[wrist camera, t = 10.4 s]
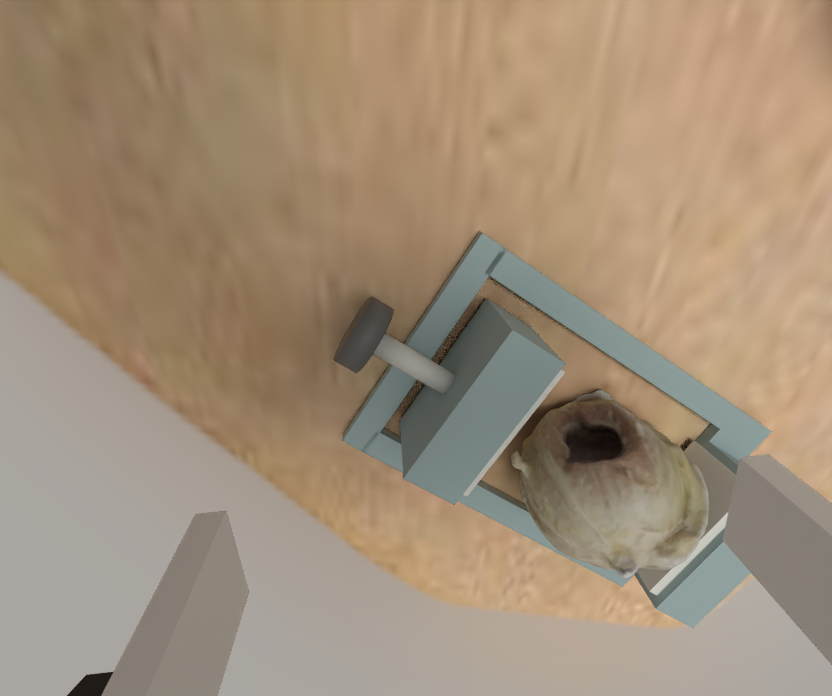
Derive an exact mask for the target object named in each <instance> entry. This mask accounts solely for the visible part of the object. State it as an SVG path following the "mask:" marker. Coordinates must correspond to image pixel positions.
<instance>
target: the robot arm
mask: <svg viewBox="0 0 832 696" xmlns="http://www.w3.org/2000/svg"><path fill="white" fill-rule="evenodd" d="M723 541H724V542H725V544H726V545H727V546H728V547H729V548H730V549H731V550H732V552H733V553H734V554H735V555H736V556H737V557H738V558H739V560H740V561H741V562H742V563H743V564H744V565H745V566H746V568H747V569H748V570H749V571H750V572H751V573H752V574H753V576H754V577H755V578H756V579H757V580H758V581H759V582H760V583H761V585H762V586H763V587H764V588H765V589H766V590H767V591H768V593H769V594H770V595H771V596H772V597H773V598H774V599H775V601H776V602H777V603H778V604H779V605H780V606H781V607H782V609H783V610H784V611H785V612H786V613H787V614H788V615H789V616H790V618H791V619H792V620H793V621H794V622H795V623H796V625H797V626H798V627H799V628H800V629H801V630H802V631H803V632H804V634H805V635H806V636H807V637H808V638H809V639H810V641H811V642H812V643H813V644H814V645H815V646H816V647H817V649H818V650H819V651H820V652H821V653H822V654H823V655H824V657H825V658H826V659H827V660H828V661H829V662H830V663H831V665H832V503H830V502H829V501H828V500H827V499H825V498H824V497H823V496H822V495H820V494H819V493H818V492H816V491H815V490H814V489H813V488H811V487H810V486H809V485H807V484H806V483H805V482H804V481H802V480H801V479H800V478H798V477H797V476H796V475H795V474H793V473H792V472H791V471H790V470H788V469H787V468H786V467H784V466H783V465H782V464H781V463H779V462H778V461H777V460H775V459H774V458H773V457H772V456H770V455H769V454H767V455H757V456H748V457H740V459H739V464H738V469H737V473H736V478H735V483H734V488H733V492H732V497H731V502H730V507H729V512H728V516H727V521H726V526H725V531H724V535H723ZM248 594H249V590H248V586H247V583H246V579H245V575H244V572H243V569H242V565H241V561H240V558H239V554H238V550H237V547H236V543H235V540H234V536H233V533H232V529H231V526H230V522H229V519H228V515H227V511H219V512H209V513H200V514H195V516H194V517H193V520H192V521H191V523H190V525H189V527H188V529H187V531H186V533H185V535H184V537H183V539H182V541H181V543H180V545H179V546H178V548H177V550H176V552H175V554H174V556H173V558H172V560H171V562H170V564H169V566H168V568H167V570H166V572H165V574H164V576H163V578H162V579H161V581H160V583H159V585H158V587H157V589H156V591H155V593H154V595H153V597H152V599H151V601H150V602H149V604H148V606H147V608H146V611H145V612H144V614H143V616H142V618H141V620H140V622H139V624H138V626H137V628H136V630H135V632H134V633H133V635H132V637H131V639H130V641H129V643H128V645H127V647H126V649H125V651H124V653H123V655H122V657H121V659H120V660H119V662H118V664H117V666H116V669H115V670H114V672H108V673H100V674H90V675H86V676H85V677H84V678H83V679H82V680H81V681H80V682H79V684H77V686H76V687H75V688H74V689H73V690H72V691H71V692H70V693H69V694H68V695H67V696H218V693H219V689H220V686H221V683H222V680H223V676H224V673H225V669H226V666H227V663H228V660H229V656H230V653H231V650H232V647H233V643H234V640H235V636H236V633H237V630H238V627H239V623H240V620H241V617H242V614H243V610H244V607H245V604H246V601H247V597H248Z"/></svg>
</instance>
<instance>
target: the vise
mask: <svg viewBox="0 0 832 696" xmlns="http://www.w3.org/2000/svg"><path fill="white" fill-rule="evenodd" d="M489 276H491V277H492V278H494V279H495V280H497V281H498V282H500V283H501V284H503V285H504V286H506V287H507V288H509V289H510V290H512V291H513V292H515V293H516V294H518V295H519V296H521V297H522V298H524V299H525V300H527V301H528V302H530V303H531V304H533V305H534V306H536V307H537V308H539V309H540V310H542V311H543V312H545V313H546V314H548V315H549V316H551V317H552V318H554V319H555V320H557V321H558V322H560V323H561V324H563V325H564V326H566V327H567V328H569V329H570V330H572V331H573V332H575V333H576V334H578V335H579V336H581V337H582V338H584V339H585V340H587V341H588V342H590V343H591V344H593V345H594V346H596V347H597V348H599V349H600V350H602V351H603V352H605V353H606V354H608V355H609V356H611V357H613V358H614V359H616V360H617V361H619V362H620V363H622V364H623V365H625V366H626V367H628V368H629V369H631V370H632V371H634V372H635V373H637V374H638V375H640V376H641V377H643V378H644V379H646V380H647V381H649V382H650V383H652V384H653V385H655V386H656V387H658V388H659V389H661V390H662V391H664V392H665V393H667V394H668V395H670V396H671V397H673V398H674V399H676V400H677V401H679V402H680V403H682V404H683V405H685V406H686V407H688V408H689V409H691V410H692V411H694V412H695V413H697V414H698V415H700V416H701V417H703V418H704V419H706V420H707V421H709V422H710V423H711V425H710V426H709V427H708V428H707V429H706V430H705V431H704V432H703V433H702V434H701V435H700V437H699V438H698V439H697V440H696V441H693V442H692V443H691V444H690V445H689V446H688V447H687V448H686V449H685V451H684V454H685V456H686V458H687V459H688V461H690V462H692V463H694V464H695V465H696V466H697V467H698V468H699V470H700V472H701V473H702V476H703V479H704V481H705V484H706V487H707V490H708V500H709V511H708V523H707V526H706V528H705V533H704V534H703V536H702V537H701V539H700V541H699V544H698V546H697V548H696V550H695V551H694V552H693V553H692V555H691V556H690V557H689V558H688V559H686V560H685V561H684V562H683V563H681V564H679V565H677V566H676V567H674V568H671V569H668V570H652V569H646V568H639V569H638V570H637V571H636V572H635V573H634V575H635V576H636V578H637V579H638V581H639V583H640V584H641V586H642V587H643V589H644V591H645V592H646V594H647V595H648V597H649V599H650V600H651V602H652V603H653V605H654V607H655V608H656V609H657V610H659V611H661V612H663V613H665V614H667V615H669V616H671V617H673V618H675V619H677V620H679V621H681V622H682V623H684V624H686V625H688V626H690V627H692V628H694V626H696V625H697V624H698V623H699V622H700V621H701V620H702V619H703V618H704V617H705V616H706V615H707V614H708V613H709V612H710V611H712V610H713V609H714V608H715V607H716V606H717V605H718V604H719V603H720V602H721V601H722V600H723V599H724V598H725V597H726V596H727V595H728V594H729V593H730V592H732V591H733V590H734V589H735V588H736V587H737V586H738V585H739V584H740V583H741V582H742V581H743V580H744V579H745V578H746V577H747V576H748V575H749V574H750V573H751V572H750V571H749V570H748V569H747V568H746V566H745V565H744V564H743V563H742V562H741V561H740V560H739V558H738V557H737V556H736V555H735V554H734V553H733V552H732V550H731V549H730V548H729V547H728V546H727V545H726V544H725V542H724V541H723V535H724V531H725V526H726V521H727V516H728V512H729V507H730V502H731V497H732V492H733V488H734V483H735V478H736V473H737V469H738V464H739V459H740V457H748V456H749V455H750V454H751V453H752V452H753V451H754V450H755V449H756V448H757V447H758V446H759V445H760V444H761V443H762V441H763V440H764V439H765V438H766V437H767V436H768V435H769V434H770V433H771V432H772V431H770V430H769V429H767V428H766V427H764V426H763V425H761V424H760V423H758V422H757V421H756V420H754V419H753V418H751V417H750V416H748V415H747V414H745V413H744V412H742V411H741V410H740V409H738V408H737V407H735V406H734V405H732V404H731V403H729V402H728V401H726V400H725V399H724V398H722V397H721V396H719V395H718V394H716V393H715V392H713V391H712V390H710V389H709V388H707V387H706V386H705V385H703V384H702V383H700V382H699V381H697V380H696V379H694V378H693V377H691V376H690V375H689V374H687V373H686V372H684V371H683V370H681V369H680V368H678V367H677V366H675V365H674V364H673V363H671V362H670V361H668V360H667V359H665V358H664V357H662V356H661V355H659V354H658V353H657V352H655V351H654V350H652V349H651V348H649V347H648V346H646V345H645V344H643V343H642V342H640V341H639V340H638V339H636V338H635V337H633V336H632V335H630V334H629V333H627V332H626V331H624V330H623V329H622V328H620V327H619V326H617V325H616V324H614V323H613V322H611V321H610V320H608V319H607V318H606V317H604V316H603V315H601V314H600V313H598V312H597V311H595V310H594V309H592V308H591V307H590V306H588V305H587V304H585V303H584V302H582V301H581V300H579V299H578V298H576V297H575V296H574V295H572V294H571V293H569V292H568V291H566V290H565V289H563V288H562V287H560V286H559V285H557V284H556V283H555V282H553V281H552V280H550V279H549V278H547V277H546V276H544V275H543V274H541V273H540V272H539V271H537V270H536V269H534V268H533V267H531V266H530V265H528V264H527V263H525V262H524V261H523V260H521V259H520V258H518V257H517V256H515V255H514V254H512V253H511V252H509V251H508V250H507V249H505V248H504V247H502V246H501V245H499V244H498V243H496V242H495V241H493V240H492V239H491V238H489V237H488V236H486V235H485V234H483V233H482V232H479V233H478V235H477V236H476V238H475V239H474V241H473V242H472V243H471V245H470V246H469V248H468V249H467V251H466V252H465V254H464V255H463V257H462V258H461V260H460V261H459V263H458V264H457V266H456V267H455V269H454V270H453V272H452V273H451V275H450V276H449V278H448V279H447V281H446V282H445V284H444V285H443V287H442V288H441V290H440V291H439V293H438V294H437V296H436V297H435V299H434V300H433V301H432V303H431V304H430V306H429V307H428V309H427V310H426V312H425V313H424V315H423V316H422V318H421V319H420V321H419V322H418V324H417V325H416V327H415V328H414V330H413V331H412V333H411V334H410V336H409V337H408V339H407V340H406V342H405V343H404V344H405V345H406V346H408V347H410V348H411V349H413V350H415V351H416V352H418V353H420V354H422V355H423V356H425V357H427V358H428V359H430V360H431V359H432V357H433V356H434V354H435V353H436V352H437V350H438V349H439V347H440V346H441V344H442V343H443V341H444V340H445V339H446V337H447V336H448V334H449V333H450V331H451V330H452V329H453V327H454V326H455V324H456V323H457V321H458V320H459V319H460V317H461V316H462V314H463V313H464V311H465V310H466V308H467V307H468V306H469V304H470V303H471V301H472V300H473V298H474V297H475V296H476V294H477V293H478V291H479V290H480V288H481V287H482V286H483V284H484V283H485V281H486V280H487V278H488V277H489ZM416 380H417V379H415V378H413V377H412V376H410V375H408V374H406V373H405V372H403V371H401V370H399V369H398V368H396V367H394V366H393V365H391V364H390V365H389V367H388V368H387V370H386V371H385V373H384V374H383V376H382V377H381V379H380V380H379V382H378V383H377V385H376V386H375V388H374V389H373V391H372V392H371V394H370V395H369V397H368V398H367V400H366V401H365V403H364V404H363V406H362V407H361V409H360V410H359V412H358V413H357V415H356V416H355V417H354V419H353V420H352V422H351V423H350V425H349V426H348V428H347V429H346V431H345V432H344V434H343V439H342V441H343V442H345V443H347V444H349V445H351V446H353V447H355V448H357V449H359V450H361V451H362V452H364V453H366V454H368V455H370V456H372V457H374V458H376V459H378V460H380V461H382V462H384V463H386V464H387V465H389V466H391V467H393V468H395V469H397V470H399V471H401V472H403V464H402V448H401V437H399V436H397V435H395V434H394V433H392V432H390V431H388V430H386V429H384V426H385V425H386V423H387V422H388V420H389V419H390V418H391V416H392V415H393V413H394V412H395V410H396V409H397V408H398V406H399V405H400V403H401V402H402V400H403V399H404V397H405V396H406V395H407V393H408V392H409V390H410V389H411V387H412V386H413V385H414V383H415V382H416ZM458 501H459V502H461V503H462V504H464V505H466V506H468V507H470V508H472V509H474V510H476V511H478V512H480V513H482V514H484V515H486V516H487V517H489V518H491V519H493V520H495V521H497V522H499V523H501V524H503V525H505V526H507V527H509V528H511V529H512V530H514V531H516V532H518V533H520V534H522V535H524V536H526V537H528V538H530V539H532V540H534V541H536V542H537V543H539V544H541V545H543V546H545V547H547V548H549V549H551V550H553V551H555V552H557V553H559V554H561V555H562V556H564V557H566V558H568V559H570V560H572V561H574V562H576V563H578V564H580V565H582V566H584V567H586V568H587V569H589V570H591V571H593V572H595V573H597V574H599V575H601V576H603V577H605V578H607V579H609V580H611V581H612V582H614V583H616V584H618V585H620V586H622V587H623V586H624V585H625V584H626V583H627V582H628V580H629V579H630V578H631V577H632V576H633V575H632V576H630V577H628V578H623V577H621V576H620V575H619V574H618V573H617V571H616V570H606V569H602V568H598V567H596V566H594V565H591V564H589V563H586V562H582V561H579V560H576V559H573V558H570V557H568V556H566V555H564V554H563V553H561V552H560V551H558V550H557V549H556V548H555V547H554V546H553V545H552V544H551V543H550V542H549V541H548V540H547V538H546V537H545V536H544V535H543V534H542V532H541V531H540V530H539V528H538V527H537V526H536V524H535V522H534V520H533V519H532V517H531V515H530V513H529V511H528V509H527V507H526V505H525V504H523V503H522V502H520V501H518V500H516V499H514V498H512V497H510V496H509V495H507V494H505V493H503V492H501V491H499V490H497V489H496V488H494V487H492V486H490V485H488V484H486V483H484V482H483V481H481V480H480V481H479V482H478V484H477V485H476V486H475V487H474V489H473V490H472V491H471V492H470V494H469V495H468V496H465V495H462V496H461V497H460V499H459V500H458Z"/></svg>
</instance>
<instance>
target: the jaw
mask: <svg viewBox="0 0 832 696" xmlns="http://www.w3.org/2000/svg"><path fill="white" fill-rule="evenodd" d="M393 313H394V310H393V309H392V308H391V307H389V306H387V305H386V304H384V303H382V302H381V301H379V300H377V299H376V298H374V297H373V296H371V297H370V298H369V299H368V300H367V301H366V302H365V304H364V305H363V306H362V308H361V309H360V311H359V312H358V314H357V315H356V317H355V318H354V320H353V322H352V323H351V325H350V327H349V328H348V330H347V332H346V334H345V335H344V337H343V339H342V341H341V343H340V345H339V347H338V349H337V351H336V353H335V356H334V361H335V362H337V363H339V364H341V365H343V366H344V367H346V368H348V369H350V370H351V371H353V372H355V373H357V372H359V371H360V370H361V369H362V368H363V367H364V365H365V364H366V363H367V362H368V360H369V359H370V357H371V356H372V354H373V355H375V356H377V357H379V358H380V359H382V360H384V361H386V362H387V363H389V364H391V365H393V366H394V367H396V368H398V369H399V370H401V371H403V372H405V373H406V374H408V375H410V376H412V377H413V378H415V379H417V380H418V381H420V382H422V383H424V384H425V386H424V387H423V389H422V390H421V391H420V393H419V394H418V396H417V397H416V399H415V400H414V401H413V403H412V404H411V406H410V407H409V408H408V410H407V411H406V413H405V414H404V416H403V417H402V418H401V420H400V432H401V448H402V464H403V479H405V480H407V481H409V482H411V483H413V484H415V485H417V486H419V487H421V488H423V489H425V490H427V491H428V492H430V493H432V494H434V495H436V496H438V497H440V498H442V499H444V500H446V501H448V502H450V503H452V504H454V505H455V504H456V503H457V501H458V500H459V499H460V497H461V496H462V495H465V496H468V495H469V494H470V492H471V491H472V490H473V489H474V487H475V486H476V485H477V484H478V482H479V481H480V480H481V479H482V477H483V476H484V475H485V473H486V472H487V471H488V470H489V468H490V467H491V466H492V465H493V463H494V462H495V461H496V460H497V458H498V457H499V456H500V455H501V453H502V452H503V451H504V449H505V448H506V447H507V446H508V444H509V443H510V442H511V441H512V439H513V438H514V437H515V436H516V434H517V433H518V432H519V430H520V429H521V428H522V427H523V425H524V424H525V423H526V422H527V420H528V419H529V418H530V417H531V415H532V414H533V413H534V412H535V410H536V409H537V408H538V406H539V405H540V404H541V403H542V401H543V400H544V399H545V398H546V396H547V395H548V394H549V393H550V391H551V390H552V389H553V387H554V386H555V385H556V384H557V382H558V381H559V380H560V379H561V377H562V376H563V375H564V374H565V371H564V370H563V369H562V368H563V366H564V365H565V363H564V362H563V361H562V360H561V358H560V357H559V356H558V355H557V354H556V353H555V352H554V351H553V350H552V349H551V348H550V347H549V346H548V345H547V344H546V343H545V342H544V341H543V340H542V339H541V338H540V337H539V335H538V334H537V333H536V332H535V331H534V330H533V329H532V328H531V327H530V326H529V325H527V324H526V323H524V322H523V321H521V320H520V319H518V318H516V317H515V316H513V315H512V314H510V313H509V312H507V311H506V310H504V309H503V308H501V307H500V306H498V305H496V304H495V303H493V302H492V301H490V300H489V299H487V298H486V299H485V301H484V302H483V303H482V305H481V306H480V308H479V309H478V311H477V312H476V313H475V315H474V316H473V318H472V319H471V320H470V322H469V323H468V325H467V326H466V328H465V329H464V330H463V332H462V333H461V335H460V336H459V338H458V339H457V340H456V342H455V343H454V345H453V346H452V347H451V349H450V350H449V352H448V353H447V355H446V356H445V357H444V359H443V360H442V362H441V363H440V364H439V365H438V364H437V363H435V362H433V361H432V360H430V359H428V358H427V357H425V356H423V355H422V354H420V353H418V352H416V351H415V350H413V349H411V348H410V347H408V346H406V345H405V344H403V343H401V342H400V341H398V340H396V339H395V338H393V337H391V336H389V335H388V334H386V333H385V332H386V330H387V328H388V326H389V324H390V322H391V319H392V316H393Z"/></svg>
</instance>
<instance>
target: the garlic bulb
mask: <svg viewBox="0 0 832 696" xmlns="http://www.w3.org/2000/svg"><path fill="white" fill-rule="evenodd" d="M511 461H512V465H513V467H515V468H516V469H520V470H521V471H522V472H521V474H520V477H519V485H520V491H521V495H522V499H523V502H524V503H525V505H526V507H527V509H528V511H529V513H530V515H531V517H532V519H533V520H534V522H535V524H536V526H537V527H538V528H539V530H540V531H541V532H542V534H543V535H544V536H545V537H546V538H547V540H548V541H549V542H550V543H551V544H552V545H553V546H554V547H555V548H556V549H557V550H558V551H560V552H561V553H563V554H564V555H566V556H568V557H570V558H573V559H576V560H579V561H582V562H586V563H589V564H591V565H594V566H596V567H598V568H602V569H606V570H616V571H617V573H618V574H619V575H620V576H621V577H623V578H628V577H630V576H632V575H634V573H635V572H636V571H637V570H638V569H639V568H646V569H652V570H668V569H671V568H674V567H676V566H677V565H679V564H681V563H683V562H684V561H685V560H686V559H688V558H689V557H690V556H691V555H692V553H693V552H694V551H695V550H696V548H697V546H698V544H699V541H700V539H701V537H702V536H703V534H704V533H705V528H706V526H707V523H708V511H709V500H708V490H707V487H706V484H705V481H704V479H703V476H702V473H701V472H700V470H699V468H698V467H697V466H696V465H695V464H694V463H692V462H690V461H688V459H687V458H686V456H685V454H684V452H683V450H682V449H681V448H680V446H679V445H678V444H675V443H673V442H671V441H670V440H669V439H668V438H667V437H666V436H665V435H663V434H662V433H660V432H659V431H657V430H656V429H654V427H653V426H652V425H651V424H650V423H648V422H646V421H644V420H641V419H638V418H637V417H636V416H634V415H633V414H632V413H631V412H630V411H628V410H627V409H625V408H624V407H622V406H621V405H620V404H619V403H618V402H616V401H614V400H613V399H612V397H611V396H610V395H609V394H607V393H606V392H604V391H603V390H598V391H596V392H594V393H590V394H583V395H580V396H578V397H577V399H576V400H574V401H572V402H569V403H567V404H565V405H564V406H562V407H560V408H556V409H551V410H549V411H548V412H547V413H546V415H545V416H544V417H543V418H542V419H541V420H540V421H539V422H538V424H537V425H536V427H535V429H534V431H533V433H532V434H531V435H530V436H528V437H527V438H526V439H525V440H524V442H523V452H522V455H521V456H520V454H519V453H518V451H517V450H516V451H515V452H514V453H513V454H512V457H511Z"/></svg>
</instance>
